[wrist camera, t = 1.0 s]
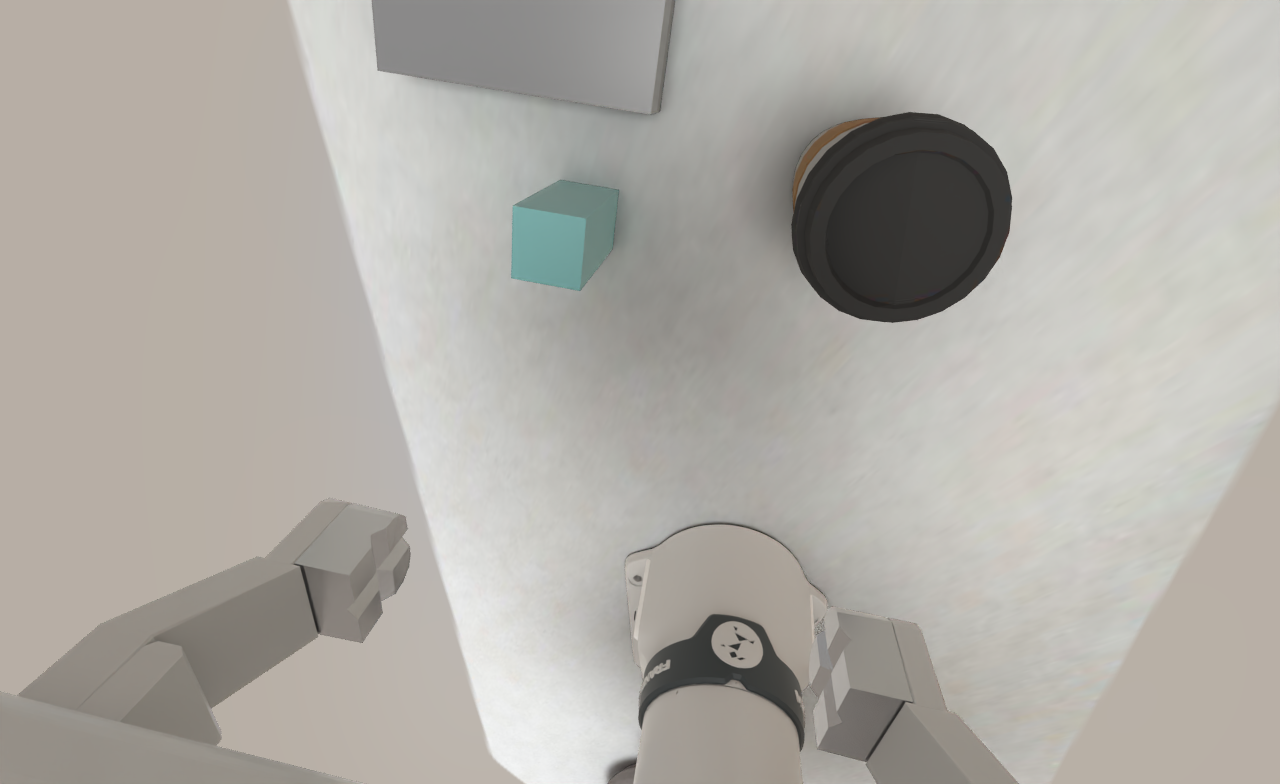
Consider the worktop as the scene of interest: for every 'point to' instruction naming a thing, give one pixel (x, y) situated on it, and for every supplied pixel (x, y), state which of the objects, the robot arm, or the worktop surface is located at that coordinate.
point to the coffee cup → (898, 215)
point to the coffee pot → (624, 776)
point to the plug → (563, 234)
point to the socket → (533, 47)
